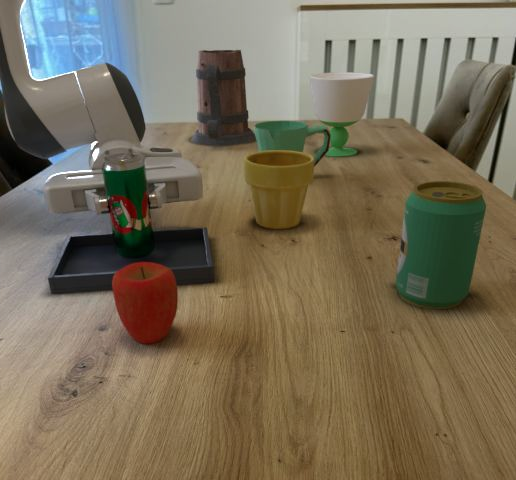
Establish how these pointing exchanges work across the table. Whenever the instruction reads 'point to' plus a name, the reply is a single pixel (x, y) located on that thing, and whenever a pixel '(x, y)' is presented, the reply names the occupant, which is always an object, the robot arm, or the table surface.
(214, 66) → the tankard
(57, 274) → the tray
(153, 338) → the apple
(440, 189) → the beverage can
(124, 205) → the soda can
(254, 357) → the table surface
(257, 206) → the flower pot
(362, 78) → the cup
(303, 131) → the mug
